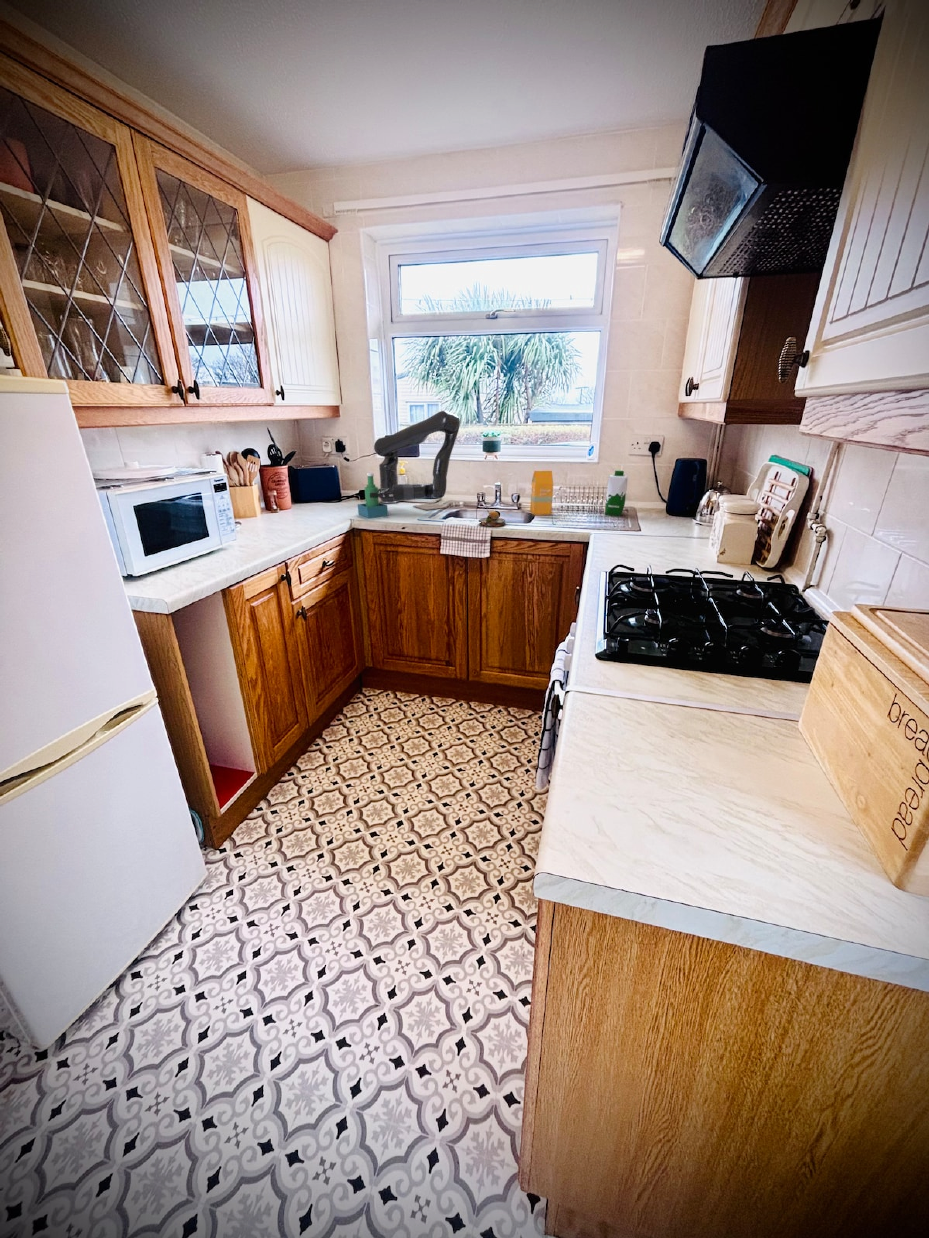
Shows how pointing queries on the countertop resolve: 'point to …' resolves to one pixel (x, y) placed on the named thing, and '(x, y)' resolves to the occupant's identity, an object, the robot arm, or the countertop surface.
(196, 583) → the countertop surface
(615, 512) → the milk carton
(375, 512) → the blue open box
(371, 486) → the bottle
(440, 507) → the board
